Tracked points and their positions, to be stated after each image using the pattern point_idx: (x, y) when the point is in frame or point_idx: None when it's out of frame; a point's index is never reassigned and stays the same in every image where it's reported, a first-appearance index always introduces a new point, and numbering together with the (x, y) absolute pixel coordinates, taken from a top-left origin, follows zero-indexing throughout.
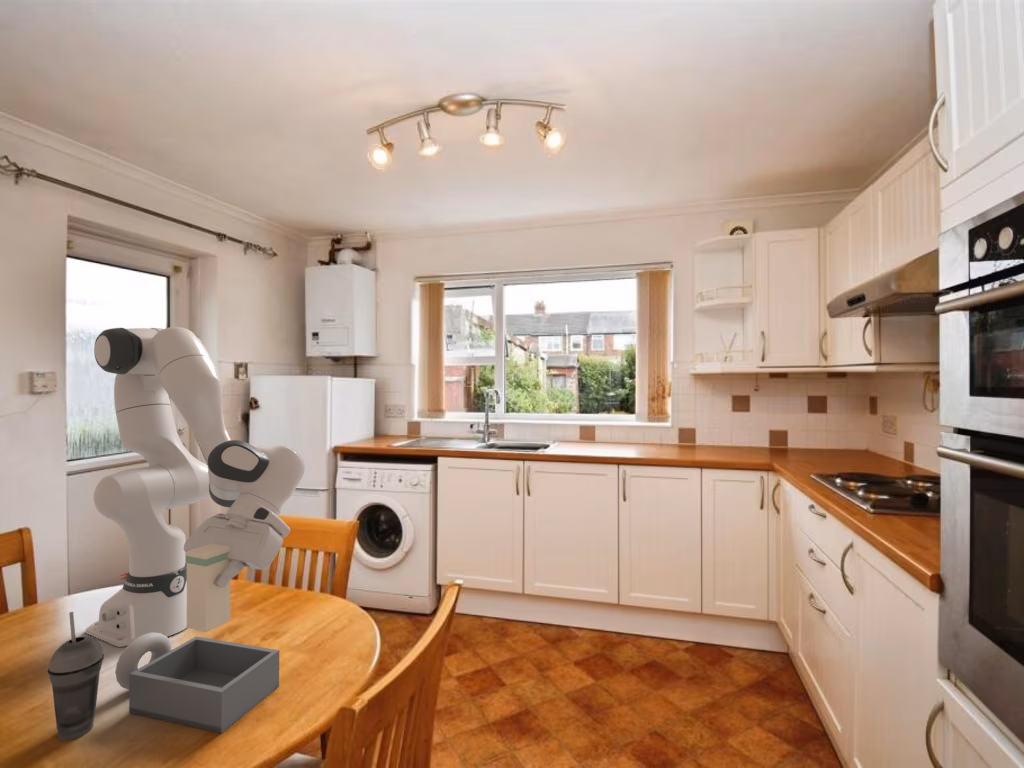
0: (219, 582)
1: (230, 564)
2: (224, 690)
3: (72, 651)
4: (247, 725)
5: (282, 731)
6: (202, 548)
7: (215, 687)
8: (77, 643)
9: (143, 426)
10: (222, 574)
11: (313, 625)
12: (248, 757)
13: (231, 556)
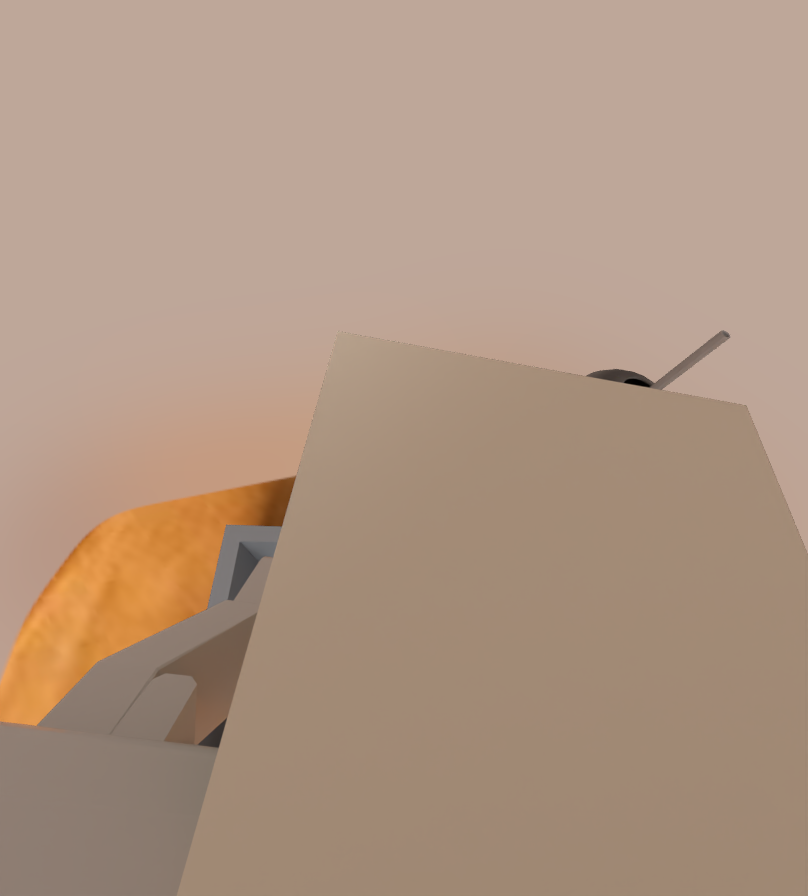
0: (262, 561)
1: (164, 688)
2: (224, 534)
3: (599, 375)
4: (207, 592)
5: (106, 595)
6: (703, 578)
7: (258, 538)
8: (617, 381)
9: None
10: (257, 603)
11: None
12: (150, 509)
13: (106, 745)
